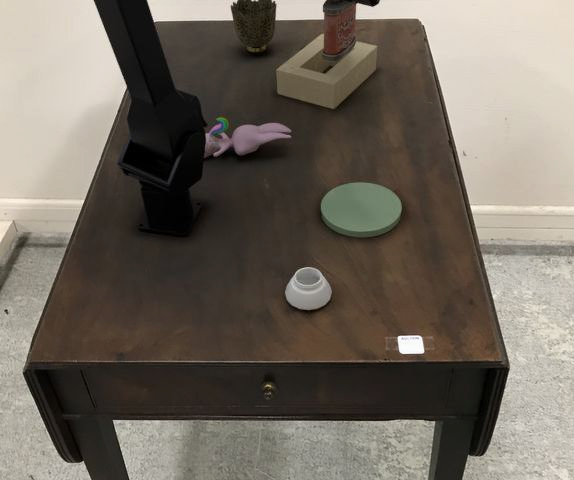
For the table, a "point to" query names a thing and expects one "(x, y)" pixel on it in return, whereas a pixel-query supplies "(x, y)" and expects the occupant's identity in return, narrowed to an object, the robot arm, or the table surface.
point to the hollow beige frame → (325, 87)
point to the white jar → (308, 289)
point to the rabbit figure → (242, 137)
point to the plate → (361, 209)
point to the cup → (254, 23)
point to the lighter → (338, 29)
